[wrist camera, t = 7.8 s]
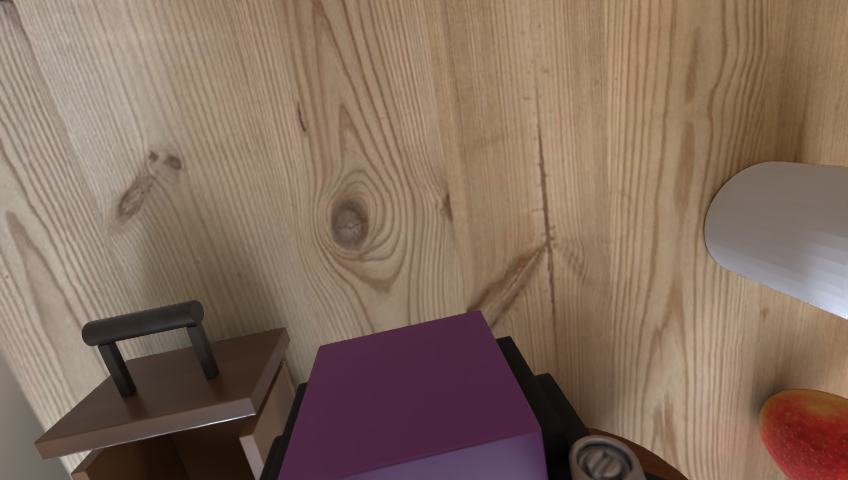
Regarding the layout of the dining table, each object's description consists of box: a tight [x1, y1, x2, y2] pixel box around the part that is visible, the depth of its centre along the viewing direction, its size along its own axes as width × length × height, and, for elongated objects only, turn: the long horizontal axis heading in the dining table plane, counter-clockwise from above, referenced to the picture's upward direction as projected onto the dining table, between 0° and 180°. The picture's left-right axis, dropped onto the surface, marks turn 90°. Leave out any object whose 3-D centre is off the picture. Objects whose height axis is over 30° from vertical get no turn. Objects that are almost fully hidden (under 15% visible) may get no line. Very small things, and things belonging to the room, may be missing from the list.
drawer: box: [34, 300, 296, 480], centre depth 26 cm, size 18×11×8 cm, turn 10°
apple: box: [758, 389, 848, 480], centre depth 31 cm, size 8×8×10 cm
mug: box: [704, 161, 848, 320], centre depth 26 cm, size 11×10×10 cm
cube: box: [278, 310, 548, 480], centre depth 10 cm, size 5×5×5 cm
